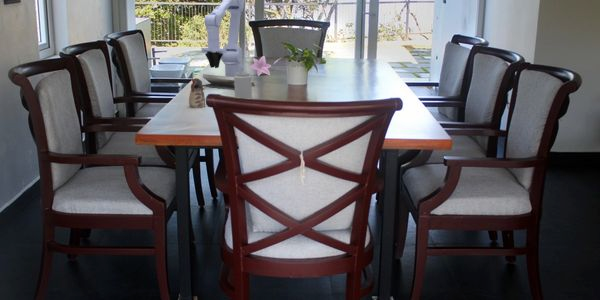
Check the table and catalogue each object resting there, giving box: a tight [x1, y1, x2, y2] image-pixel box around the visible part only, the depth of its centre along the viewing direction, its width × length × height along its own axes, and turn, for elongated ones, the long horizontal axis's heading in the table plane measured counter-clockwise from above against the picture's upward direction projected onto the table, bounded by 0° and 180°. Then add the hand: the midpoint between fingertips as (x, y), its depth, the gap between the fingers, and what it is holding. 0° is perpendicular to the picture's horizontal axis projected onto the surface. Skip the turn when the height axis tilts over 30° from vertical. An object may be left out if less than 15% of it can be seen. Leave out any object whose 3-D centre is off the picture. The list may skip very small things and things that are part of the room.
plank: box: [201, 73, 235, 86], centre depth 345 cm, size 7×22×2 cm
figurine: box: [188, 77, 207, 108], centre depth 296 cm, size 7×7×12 cm
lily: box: [249, 55, 272, 77], centre depth 384 cm, size 12×12×10 cm
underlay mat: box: [202, 83, 256, 91], centre depth 348 cm, size 15×23×1 cm, turn 55°
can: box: [234, 71, 253, 99], centre depth 309 cm, size 8×8×12 cm
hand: (214, 67), depth 344 cm, fingers closed
